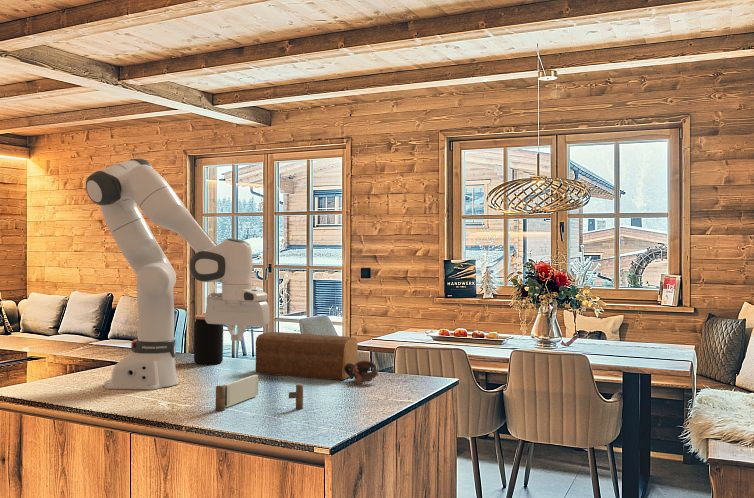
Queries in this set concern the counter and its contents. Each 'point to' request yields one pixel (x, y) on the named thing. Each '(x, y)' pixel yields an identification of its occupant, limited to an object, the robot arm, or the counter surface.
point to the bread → (305, 355)
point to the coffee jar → (207, 342)
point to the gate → (241, 390)
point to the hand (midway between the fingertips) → (236, 340)
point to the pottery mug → (361, 371)
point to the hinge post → (220, 398)
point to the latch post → (298, 396)
